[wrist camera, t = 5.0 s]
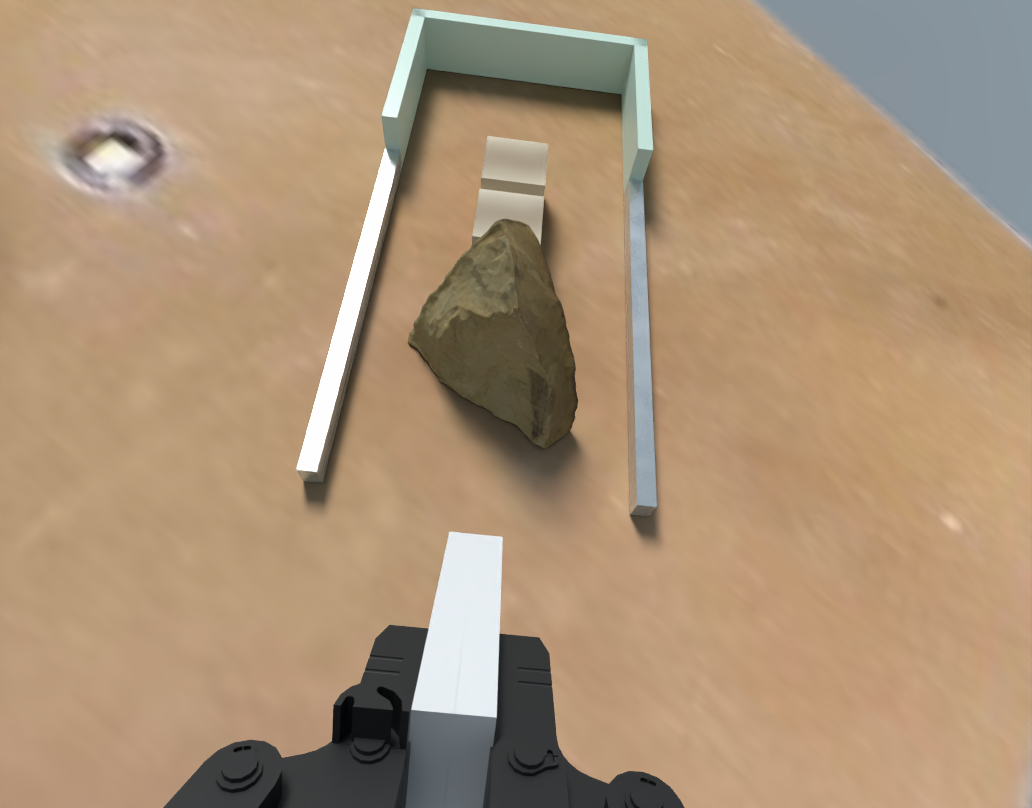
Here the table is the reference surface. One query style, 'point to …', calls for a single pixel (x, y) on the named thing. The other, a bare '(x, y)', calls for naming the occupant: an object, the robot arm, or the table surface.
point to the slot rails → (356, 305)
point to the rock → (503, 334)
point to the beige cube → (514, 166)
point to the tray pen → (523, 70)
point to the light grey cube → (507, 211)
